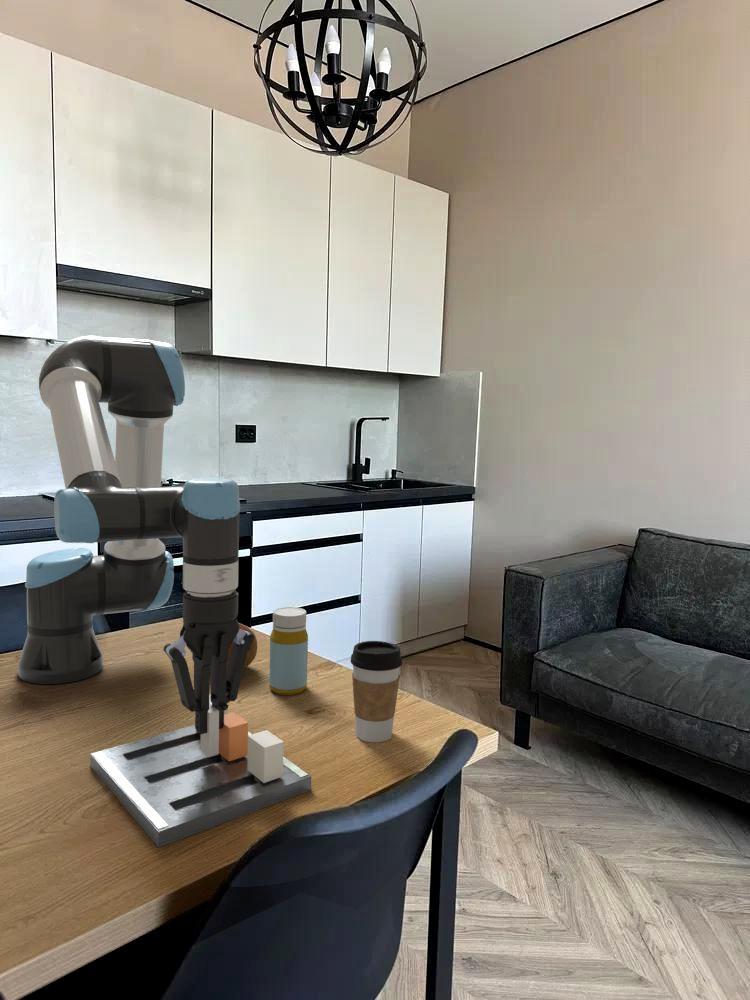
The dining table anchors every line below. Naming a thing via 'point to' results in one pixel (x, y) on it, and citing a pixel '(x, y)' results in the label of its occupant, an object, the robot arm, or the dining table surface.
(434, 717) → the dining table surface
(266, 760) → the block
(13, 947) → the dining table surface
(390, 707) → the coffee cup
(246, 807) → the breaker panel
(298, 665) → the bottle
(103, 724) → the dining table surface
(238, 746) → the block
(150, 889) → the dining table surface
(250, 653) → the fruit
